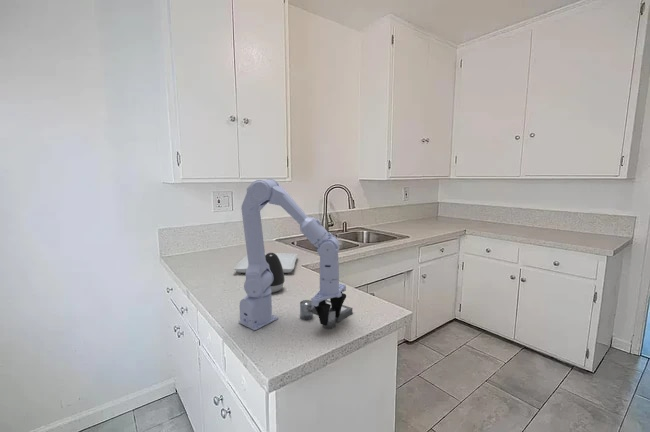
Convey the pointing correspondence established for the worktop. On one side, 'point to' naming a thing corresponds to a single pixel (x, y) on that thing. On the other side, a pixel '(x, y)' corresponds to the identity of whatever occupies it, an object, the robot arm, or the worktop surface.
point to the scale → (343, 313)
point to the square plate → (285, 259)
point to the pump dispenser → (275, 271)
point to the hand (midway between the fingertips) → (329, 320)
